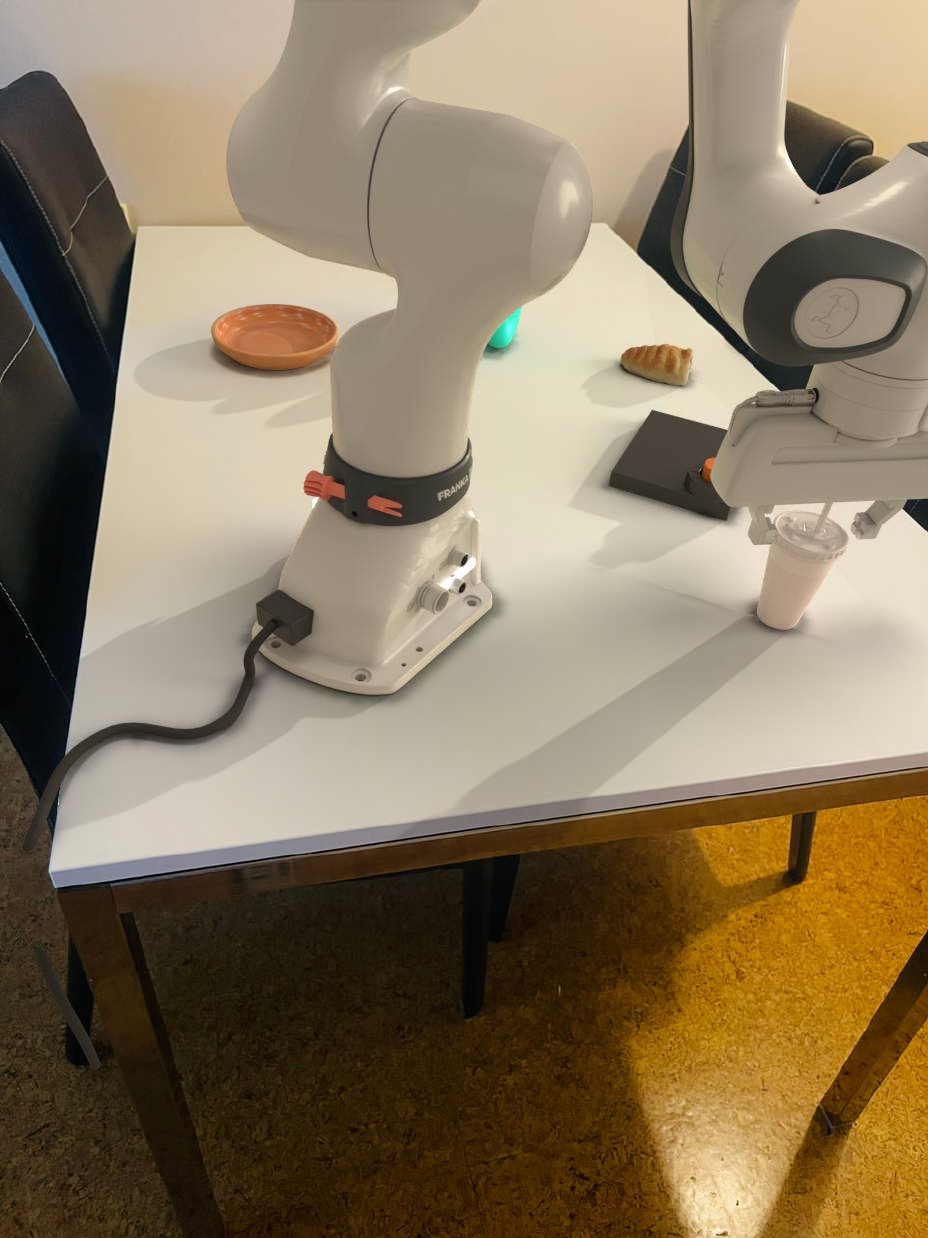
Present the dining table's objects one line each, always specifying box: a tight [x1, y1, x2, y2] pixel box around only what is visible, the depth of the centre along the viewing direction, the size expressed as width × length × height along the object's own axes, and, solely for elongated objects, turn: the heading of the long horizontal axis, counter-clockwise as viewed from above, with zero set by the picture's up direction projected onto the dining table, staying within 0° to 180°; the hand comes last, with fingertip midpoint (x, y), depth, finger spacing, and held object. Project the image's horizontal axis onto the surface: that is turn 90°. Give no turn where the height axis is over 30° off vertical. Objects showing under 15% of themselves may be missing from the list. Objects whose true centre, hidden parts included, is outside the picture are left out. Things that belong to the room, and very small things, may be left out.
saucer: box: [210, 303, 339, 371], centre depth 115 cm, size 16×16×3 cm
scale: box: [608, 409, 733, 521], centre depth 99 cm, size 16×13×4 cm
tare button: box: [702, 458, 716, 483], centre depth 93 cm, size 3×3×2 cm
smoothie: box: [756, 503, 850, 631], centre depth 77 cm, size 6×6×14 cm
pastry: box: [620, 343, 694, 386], centre depth 117 cm, size 9×7×4 cm
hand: (810, 537), depth 75 cm, fingers open, 8 cm apart
